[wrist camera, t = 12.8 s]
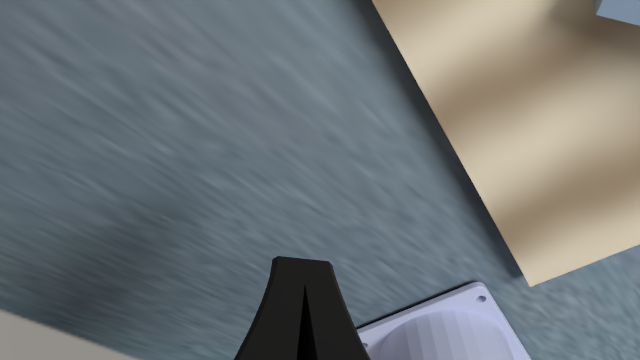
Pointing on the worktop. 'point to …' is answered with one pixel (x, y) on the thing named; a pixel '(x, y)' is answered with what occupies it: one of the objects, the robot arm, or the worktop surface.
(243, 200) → the worktop surface
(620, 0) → the tile blue
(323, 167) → the worktop surface
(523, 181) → the board
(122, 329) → the worktop surface
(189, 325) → the worktop surface
